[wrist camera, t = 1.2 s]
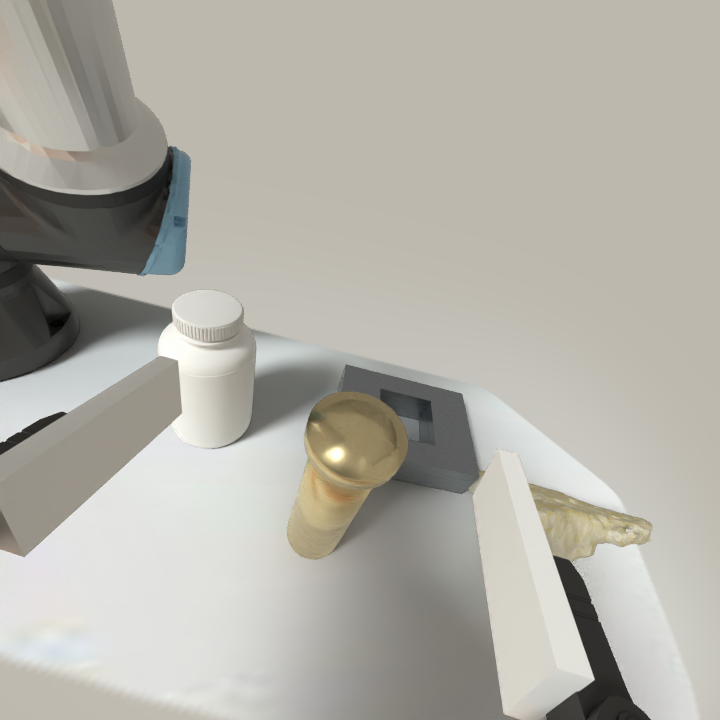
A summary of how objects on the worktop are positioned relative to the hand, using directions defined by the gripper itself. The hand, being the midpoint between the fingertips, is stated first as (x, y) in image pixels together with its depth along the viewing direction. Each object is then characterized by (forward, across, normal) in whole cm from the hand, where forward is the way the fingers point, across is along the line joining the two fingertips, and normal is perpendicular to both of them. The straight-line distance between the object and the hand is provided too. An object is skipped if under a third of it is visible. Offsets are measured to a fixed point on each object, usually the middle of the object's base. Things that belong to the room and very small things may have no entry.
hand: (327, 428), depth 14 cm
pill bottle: (+16, -15, -17) cm, 28 cm away
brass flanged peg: (+9, -1, -20) cm, 22 cm away
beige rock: (+17, +22, -21) cm, 35 cm away
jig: (+22, +5, -18) cm, 29 cm away
